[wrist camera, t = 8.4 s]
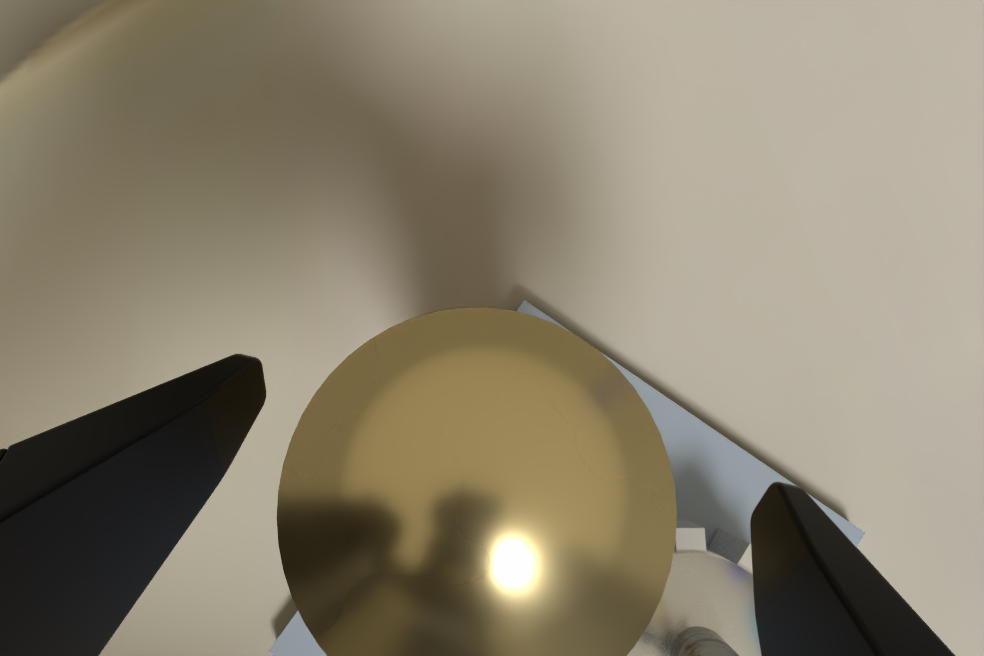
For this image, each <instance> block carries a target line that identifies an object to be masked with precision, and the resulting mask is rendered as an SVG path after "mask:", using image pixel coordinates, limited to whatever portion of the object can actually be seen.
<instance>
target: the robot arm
mask: <svg viewBox="0 0 984 656" xmlns="http://www.w3.org/2000/svg"><path fill="white" fill-rule="evenodd" d="M265 399H266V387H265V380H264V374H263V367H262V363H261V361H260V360H259V359H258V358H256V357H251V356H247V355H243V354H234V355H231V356H229V357H227V358H224V359H222V360H219V361H217V362H214V363H212V364H209V365H207V366H204V367H202V368H200V369H197V370H195V371H192V372H190V373H187V374H185V375H182V376H180V377H178V378H175V379H173V380H170V381H168V382H165V383H163V384H160V385H158V386H155V387H153V388H151V389H148V390H146V391H143V392H141V393H138V394H136V395H133V396H131V397H128V398H126V399H124V400H121V401H119V402H116V403H114V404H111V405H109V406H106V407H104V408H102V409H99V410H97V411H94V412H92V413H89V414H87V415H84V416H82V417H79V418H77V419H74V420H72V421H70V422H67V423H65V424H62V425H60V426H57V427H55V428H52V429H50V430H47V431H45V432H43V433H40V434H38V435H35V436H33V437H30V438H28V439H25V440H23V441H20V442H18V443H16V444H13V445H11V446H9V448H8V449H1V450H0V656H99V654H100V653H101V651H102V650H103V648H104V647H105V646H106V644H107V643H108V641H109V640H110V638H111V637H112V636H113V634H114V633H115V631H116V630H117V628H118V627H119V626H120V624H121V623H122V621H123V620H124V618H125V617H126V616H127V614H128V613H129V611H130V610H131V608H132V607H133V606H134V604H135V603H136V601H137V600H138V598H139V597H140V596H141V594H142V593H143V591H144V590H145V588H146V587H147V586H148V584H149V583H150V581H151V580H152V578H153V577H154V576H155V574H156V573H157V571H158V570H159V568H160V567H161V566H162V564H163V563H164V561H165V560H166V558H167V557H168V556H169V554H170V553H171V551H172V550H173V549H174V547H175V546H176V544H177V543H178V541H179V540H180V539H181V537H182V536H183V534H184V533H185V531H186V530H187V529H188V527H189V526H190V524H191V523H192V521H193V520H194V519H195V517H196V516H197V514H198V513H199V511H200V510H201V509H202V507H203V506H204V504H205V503H206V501H207V500H208V499H209V497H210V496H211V494H212V493H213V491H214V490H215V489H216V487H217V486H218V484H219V483H220V481H221V480H222V478H223V477H224V475H225V473H226V472H227V470H228V468H229V467H230V465H231V463H232V461H233V459H234V458H235V456H236V454H237V452H238V450H239V449H240V447H241V445H242V443H243V441H244V439H245V438H246V436H247V434H248V432H249V430H250V429H251V427H252V425H253V423H254V421H255V420H256V418H257V416H258V414H259V412H260V410H261V409H262V407H263V405H264V402H265ZM750 533H751V553H752V572H753V591H754V606H755V617H756V624H757V631H758V637H759V643H760V649H761V655H762V656H955V655H954V654H953V653H952V652H951V651H950V649H949V648H948V647H947V646H946V645H945V644H944V643H943V642H942V641H941V640H940V638H939V637H938V636H937V635H936V634H935V633H934V632H933V631H932V630H931V629H930V627H929V626H928V625H927V624H926V623H925V622H924V621H923V620H922V619H921V618H920V616H919V615H918V614H917V613H916V612H915V611H914V610H913V609H912V608H911V607H910V605H909V604H908V603H907V602H906V601H905V600H904V599H903V598H902V597H901V596H900V594H899V593H898V592H897V591H896V590H895V589H894V588H893V587H892V586H891V585H890V584H889V582H888V581H887V580H886V579H885V578H884V577H883V576H882V575H881V574H880V573H879V571H878V570H877V569H876V568H875V567H874V566H873V565H872V564H871V563H870V562H869V560H868V559H867V558H866V557H865V556H864V555H863V554H862V553H861V552H860V551H859V549H858V548H857V547H856V546H855V545H854V544H853V543H852V542H851V541H850V540H849V538H848V537H847V536H846V535H845V534H844V533H843V532H842V531H841V530H840V529H839V527H838V526H837V525H836V524H835V523H834V522H833V521H832V520H831V519H830V518H829V517H828V515H827V514H826V513H825V512H824V511H823V510H822V509H821V508H820V507H819V506H818V504H817V503H816V502H815V501H814V500H813V499H812V498H811V497H810V496H809V495H808V493H807V492H806V491H805V490H804V489H802V488H801V487H799V486H795V485H791V484H787V483H783V482H773V483H772V484H771V485H770V486H769V487H768V489H767V490H766V492H765V493H764V495H763V496H762V498H761V499H760V501H759V502H758V504H757V506H756V507H755V509H754V510H753V512H752V515H751V520H750Z"/></svg>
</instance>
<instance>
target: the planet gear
mask: <svg viewBox="0 0 984 656" xmlns="http://www.w3.org/2000/svg"><path fill="white" fill-rule="evenodd" d="M676 521H677V509H676V497H675V485H674V480H673V476H672V471H671V466H670V461H669V457H668V454H667V452H666V449H665V446H664V443H663V440H662V437H661V434H660V432H659V430H658V428H657V426H656V424H655V422H654V420H653V418H652V415H651V413H650V411H649V409H648V408H647V406H646V405H645V403H644V402H643V400H642V399H641V397H640V396H639V394H638V393H637V391H636V390H635V388H634V387H633V385H632V384H631V383H630V382H629V381H628V380H627V378H626V377H625V376H624V375H623V374H622V373H621V371H620V370H619V369H618V368H617V367H616V366H615V365H614V364H613V363H612V362H611V361H610V360H608V359H607V358H606V357H605V356H604V355H603V354H602V353H601V352H600V351H599V350H597V349H596V348H594V347H593V346H592V345H590V344H589V343H587V342H586V341H584V340H583V339H582V338H580V337H579V336H577V335H575V334H574V333H572V332H570V331H568V330H566V329H564V328H562V327H560V326H558V325H556V324H554V323H552V322H549V321H546V320H543V319H541V318H538V317H535V316H533V315H529V314H525V313H520V312H516V311H512V310H507V309H497V308H487V307H472V308H455V309H449V310H442V311H436V312H432V313H429V314H425V315H422V316H418V317H415V318H412V319H409V320H407V321H405V322H402V323H400V324H398V325H396V326H393V327H391V328H389V329H387V330H385V331H384V332H382V333H380V334H379V335H377V336H375V337H374V338H372V339H370V340H369V341H367V342H366V343H365V344H363V345H362V346H361V347H359V348H358V349H357V350H356V351H354V352H353V353H352V354H350V355H349V356H348V357H347V358H346V359H345V360H344V361H343V362H342V363H341V364H340V365H339V366H338V367H337V368H336V369H335V370H334V371H333V372H332V373H331V374H330V375H329V377H328V378H327V379H326V380H325V382H324V383H323V384H322V385H321V387H320V388H319V389H318V390H317V392H316V393H315V395H314V396H313V398H312V399H311V401H310V403H309V404H308V406H307V408H306V409H305V411H304V413H303V414H302V416H301V418H300V421H299V423H298V425H297V427H296V429H295V432H294V434H293V436H292V438H291V441H290V444H289V448H288V451H287V454H286V457H285V460H284V464H283V469H282V474H281V480H280V485H279V491H278V507H277V527H278V543H279V549H280V554H281V560H282V565H283V570H284V574H285V577H286V580H287V583H288V586H289V589H290V592H291V595H292V598H293V600H294V602H295V605H296V607H297V609H298V611H299V613H300V615H301V617H302V619H303V621H304V623H305V625H306V626H307V628H308V630H309V631H310V633H311V634H312V636H313V637H314V639H315V640H316V642H317V644H318V645H319V647H320V648H321V649H322V650H323V651H324V652H325V654H326V655H327V656H627V655H628V654H629V652H630V651H631V650H632V649H633V648H634V646H635V645H636V643H637V642H638V640H639V639H640V637H641V636H642V634H643V633H644V631H645V629H646V628H647V626H648V625H649V623H650V621H651V619H652V617H653V615H654V613H655V611H656V608H657V606H658V604H659V602H660V600H661V598H662V595H663V592H664V589H665V586H666V582H667V579H668V576H669V573H670V570H671V564H672V559H673V553H674V548H675V542H676Z"/></svg>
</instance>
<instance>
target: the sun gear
mask: <svg viewBox="0 0 984 656" xmlns="http://www.w3.org/2000/svg"><path fill="white" fill-rule="evenodd" d="M627 656H762V655H761V649H760V643H759V637H758V631H757V624H756V617H755V606H754V591H753V572H752V553H751V544H750V543H748V542H746V541H744V540H742V539H740V538H738V537H736V536H734V535H732V534H729V533H727V532H725V531H723V530H721V529H718V531H717V533H716V534H715V536H714V537H713V539H712V541H711V542H710V544H709V545H708V547H707V546H706V540H705V528H703V527H701V526H699V525H698V524H696V523H694V522H692V521H690V520H688V519H686V518H684V517H682V516H680V515H677V521H676V542H675V548H674V553H673V559H672V564H671V570H670V573H669V576H668V579H667V582H666V586H665V589H664V592H663V595H662V598H661V600H660V602H659V604H658V606H657V608H656V611H655V613H654V615H653V617H652V619H651V621H650V623H649V625H648V626H647V628H646V629H645V631H644V633H643V634H642V636H641V637H640V639H639V640H638V642H637V643H636V645H635V646H634V648H633V649H632V650H631V651H630V652H629V654H628V655H627Z"/></svg>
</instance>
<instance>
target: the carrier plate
mask: <svg viewBox="0 0 984 656" xmlns="http://www.w3.org/2000/svg"><path fill="white" fill-rule="evenodd" d="M516 312H520V313H525V314H529V315H533V316H535V317H538V318H541V319H543V320H546V321H549V322H552V323H554V324H556V325H558V326H560V327H562V328H564V329H566V328H565V327H563V326H562V325H560V324H559V323H558V322H556V321H555V320H553V319H552V318H550V317H549V316H547V315H546V314H544V313H543V312H541V311H540V310H539V309H537V308H536V307H534V306H533V305H531V304H530V303H528V302H527V301H525V300H524V301H523V302H522V304H521V305H520V307H519V308H518V309H517V311H516ZM566 330H568V329H566ZM568 331H569V330H568ZM570 332H571V331H570ZM602 354H603V353H602ZM603 355H604V354H603ZM604 356H605V357H606V358H607V359H608V360H610V361H611V362H612V363H613V364H614V365H615V366H616V367H617V368H618V369H619V370H620V371H621V373H622V374H623V375H624V376H625V377H626V378H627V380H628V381H629V382H630V383H631V384H632V385H633V387H634V388H635V390H636V391H637V393H638V394H639V396H640V397H641V399H642V400H643V402H644V403H645V405H646V406H647V408H648V409H649V411H650V413H651V415H652V418H653V420H654V422H655V424H656V426H657V428H658V430H659V432H660V434H661V437H662V440H663V443H664V446H665V449H666V452H667V454H668V457H669V461H670V466H671V471H672V476H673V480H674V485H675V497H676V509H677V515H680V516H682V517H684V518H686V519H688V520H690V521H692V522H694V523H696V524H698V525H699V526H701V527H703V528H705V540H706V546H707V547H708V545H709V544H710V542H711V541H712V539H713V537H714V536H715V534H716V533H717V531H718V529H721V530H723V531H725V532H727V533H729V534H732V535H734V536H736V537H738V538H740V539H742V540H744V541H746V542H748V543H750V544H751V533H750V520H751V515H752V512H753V510H754V509H755V507H756V506H757V504H758V502H759V501H760V499H761V498H762V496H763V495H764V493H765V492H766V490H767V489H768V487H769V486H770V485H771V484H772V483H773V482H783V483H787V484H791V485H794V484H793V483H791V482H790V481H789V480H787V479H786V478H784V477H783V476H781V475H780V474H778V473H777V472H775V471H774V470H772V469H771V468H770V467H768V466H767V465H765V464H764V463H762V462H761V461H759V460H758V459H756V458H755V457H753V456H752V455H751V454H749V453H748V452H746V451H745V450H743V449H742V448H740V447H739V446H737V445H736V444H734V443H733V442H732V441H730V440H729V439H727V438H726V437H724V436H723V435H721V434H720V433H718V432H717V431H715V430H714V429H713V428H711V427H710V426H708V425H707V424H705V423H704V422H702V421H701V420H699V419H698V418H696V417H695V416H694V415H692V414H691V413H689V412H688V411H686V410H685V409H683V408H682V407H680V406H679V405H677V404H676V403H675V402H673V401H672V400H670V399H669V398H667V397H666V396H664V395H663V394H661V393H660V392H658V391H657V390H656V389H654V388H653V387H651V386H650V385H648V384H647V383H645V382H644V381H642V380H641V379H639V378H638V377H637V376H635V375H634V374H632V373H631V372H629V371H628V370H626V369H625V368H623V367H622V366H620V365H619V364H618V363H616V362H615V361H613V360H612V359H610V358H609V357H607V356H606V355H604ZM795 486H796V485H795ZM808 495H809V494H808ZM809 496H810V495H809ZM810 497H811V498H812V499H813V500H814V501H815V502H816V503H817V504H818V506H819V507H820V508H821V509H822V510H823V511H824V512H825V513H826V514H827V515H828V517H829V518H830V519H831V520H832V521H833V522H834V523H835V524H836V525H837V526H838V527H839V529H840V530H841V531H842V532H843V533H844V534H845V535H846V536H847V537H848V538H849V540H850V541H851V542H852V543H853V544H854V545H855V546H856V547H857V546H858V544H859V542H860V541H861V539H862V537H863V536H864V534H865V532H863V531H862V530H860V529H859V528H857V527H856V526H854V525H853V524H851V523H850V522H848V521H847V520H846V519H844V518H843V517H841V516H840V515H838V514H837V513H835V512H834V511H832V510H831V509H829V508H828V507H827V506H825V505H824V504H822V503H821V502H819V501H818V500H816V499H815V498H813V497H812V496H810ZM269 652H271V653H272V654H273V655H274V656H327V655H326V654H325V652H324V651H323V650H322V649H321V648H320V647H319V645H318V644H317V642H316V640H315V639H314V637H313V636H312V634H311V633H310V631H309V630H308V628H307V626H306V625H305V623H304V621H303V619H302V617H301V615H300V613H299V611H297V612H296V614H295V615H294V617H293V618H292V619H291V621H290V622H289V623H288V625H287V626H286V628H285V629H284V630H283V632H282V633H281V634H280V636H279V637H278V639H277V640H276V641H275V643H274V644H273V645H272V647H271V648H270V649H269Z"/></svg>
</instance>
